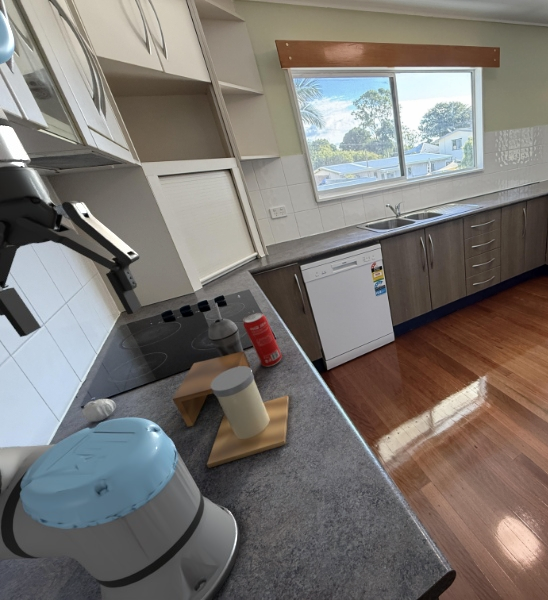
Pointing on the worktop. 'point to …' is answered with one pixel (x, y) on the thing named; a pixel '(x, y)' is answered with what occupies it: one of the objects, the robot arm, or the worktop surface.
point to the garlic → (98, 409)
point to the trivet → (270, 437)
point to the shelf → (203, 383)
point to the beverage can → (262, 339)
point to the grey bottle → (224, 336)
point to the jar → (241, 401)
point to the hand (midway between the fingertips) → (84, 321)
